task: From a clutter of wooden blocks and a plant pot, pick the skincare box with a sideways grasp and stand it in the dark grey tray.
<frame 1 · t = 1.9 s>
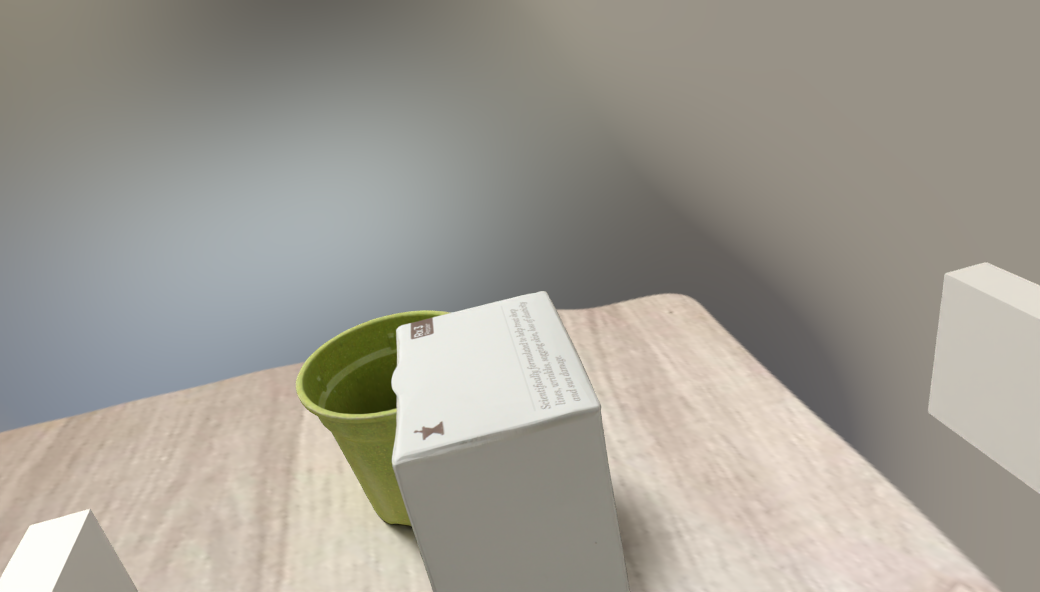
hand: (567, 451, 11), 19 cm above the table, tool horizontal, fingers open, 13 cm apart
plant pot: (429, 492, 38), on the table
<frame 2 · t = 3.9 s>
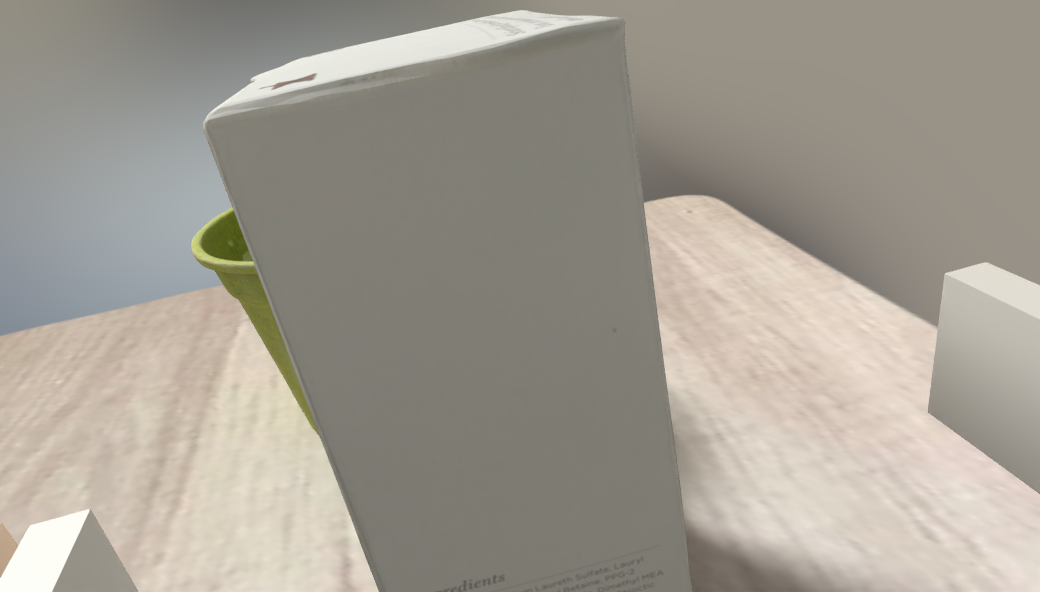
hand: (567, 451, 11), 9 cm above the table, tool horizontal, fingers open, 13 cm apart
plant pot: (384, 404, 29), on the table
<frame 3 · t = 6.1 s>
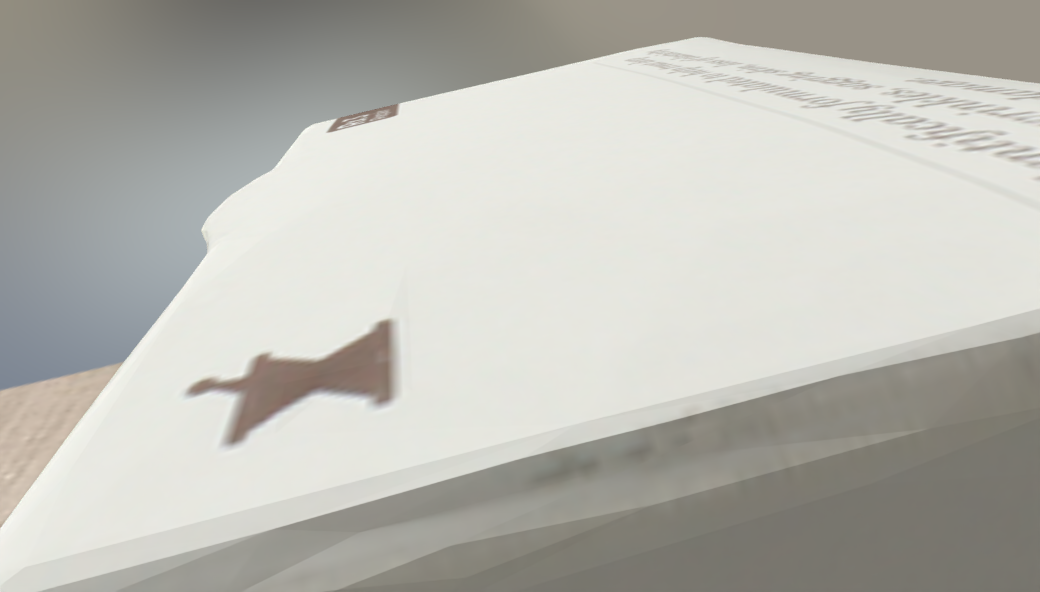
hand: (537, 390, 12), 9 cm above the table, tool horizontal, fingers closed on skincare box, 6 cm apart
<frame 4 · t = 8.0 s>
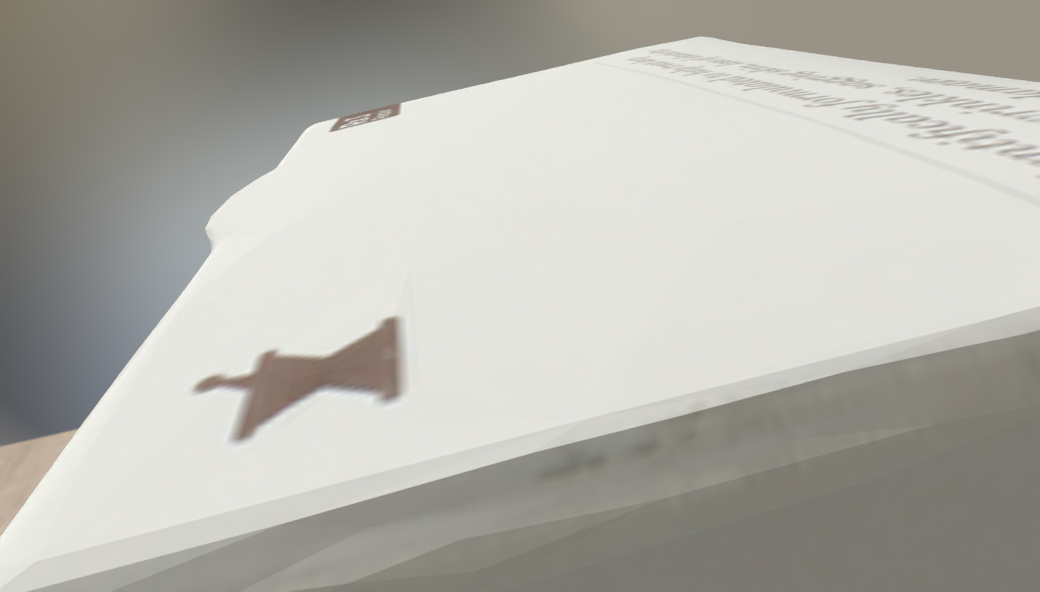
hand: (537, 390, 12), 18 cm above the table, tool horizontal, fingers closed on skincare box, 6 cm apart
when the fingers open (11 cm above the table, at t = 9.8 s): skincare box drops 1 cm, resting on tray.
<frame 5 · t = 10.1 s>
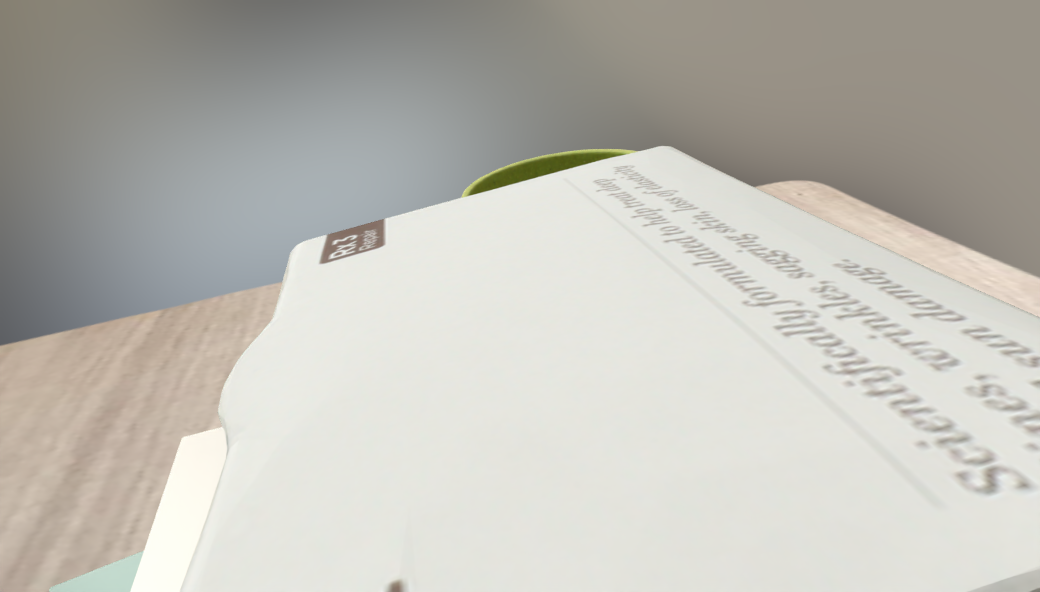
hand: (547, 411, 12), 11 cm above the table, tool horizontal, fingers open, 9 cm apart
plant pot: (585, 346, 35), on the table
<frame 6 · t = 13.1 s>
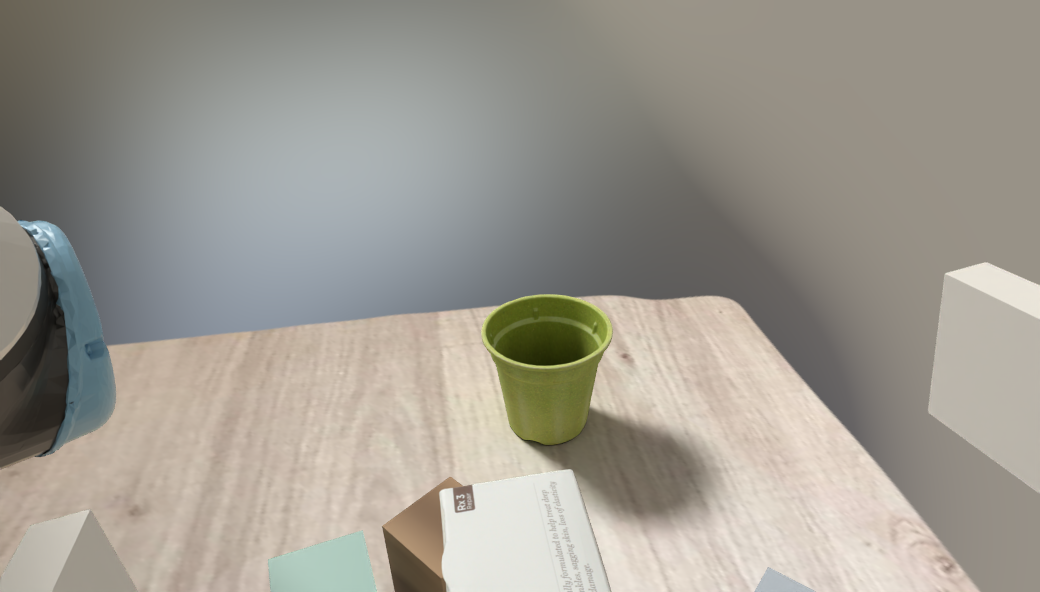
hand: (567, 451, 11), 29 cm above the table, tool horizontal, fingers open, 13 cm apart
plant pot: (548, 422, 55), on the table
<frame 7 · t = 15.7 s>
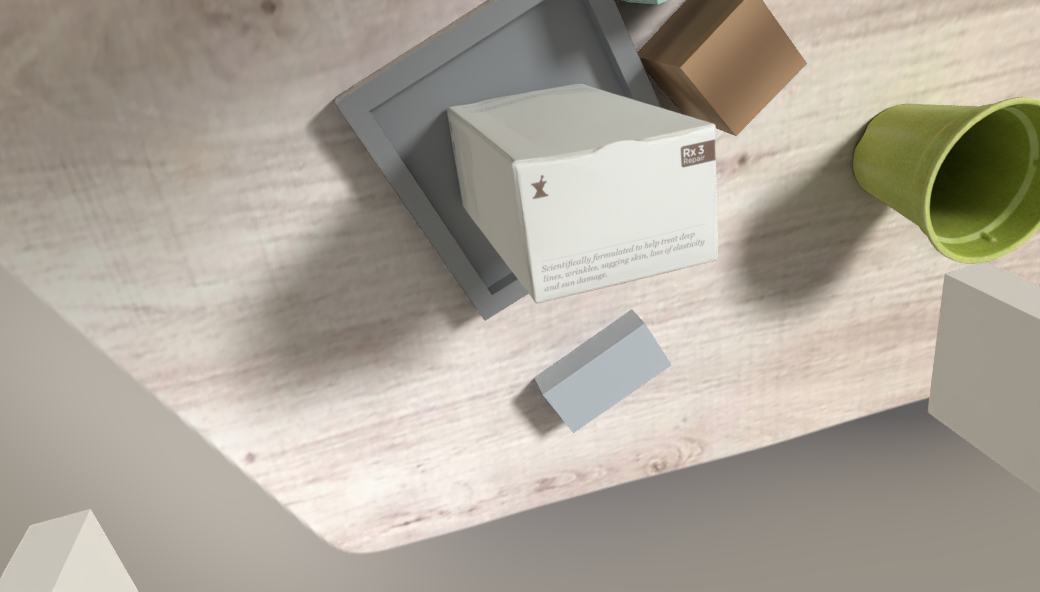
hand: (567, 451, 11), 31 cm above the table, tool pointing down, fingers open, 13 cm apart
skincare box: (524, 140, 39), point 1 cm above the table, touching tray
plant pot: (888, 150, 46), on the table
tray: (523, 141, 40), on the table
flat blue-grey brick: (595, 361, 48), on the table
walnut block: (691, 54, 40), on the table
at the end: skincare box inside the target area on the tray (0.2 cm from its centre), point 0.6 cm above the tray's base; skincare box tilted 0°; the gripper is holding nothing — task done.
